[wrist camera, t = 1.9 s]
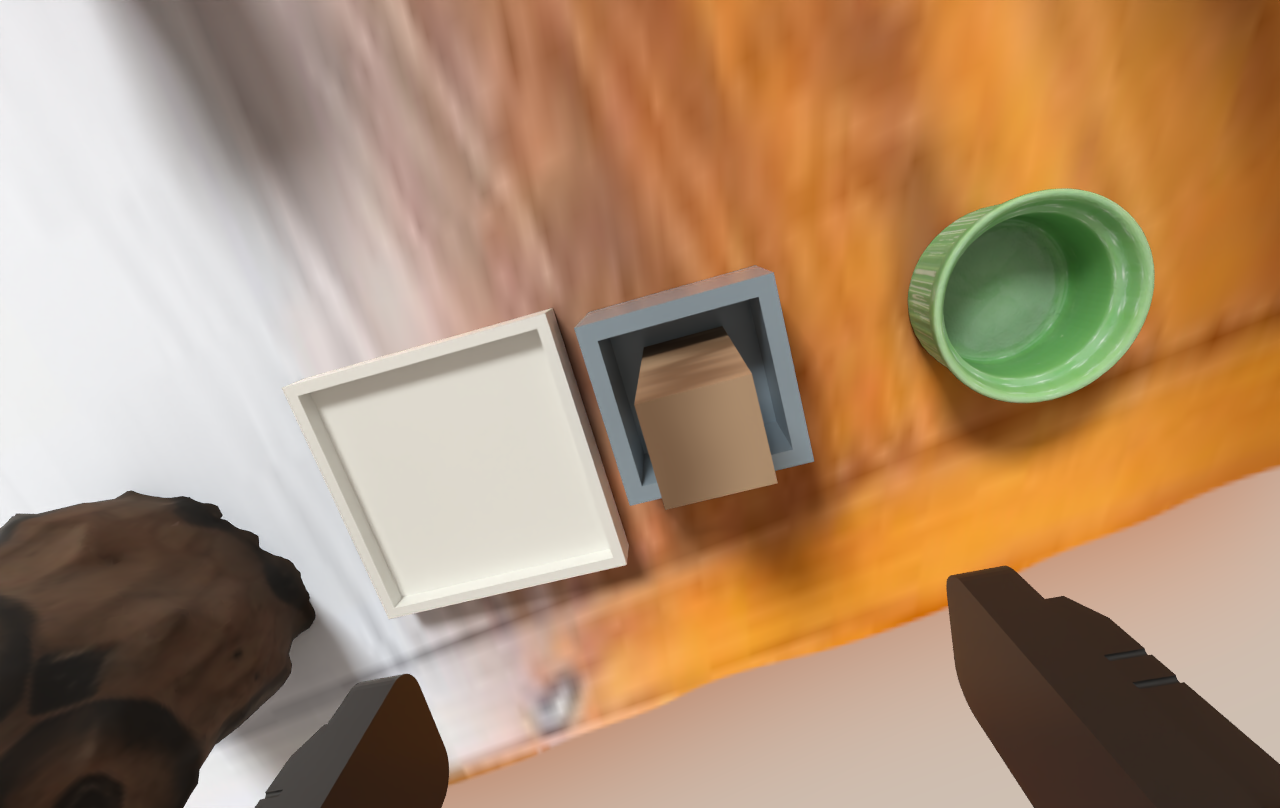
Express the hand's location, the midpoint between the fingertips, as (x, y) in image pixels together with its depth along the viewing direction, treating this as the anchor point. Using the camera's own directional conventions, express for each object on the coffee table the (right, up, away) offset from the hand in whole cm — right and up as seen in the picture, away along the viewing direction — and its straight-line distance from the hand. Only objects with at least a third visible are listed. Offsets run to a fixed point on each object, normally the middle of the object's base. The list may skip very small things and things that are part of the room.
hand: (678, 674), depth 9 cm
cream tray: (-10, +1, +24) cm, 26 cm away
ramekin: (+17, +10, +20) cm, 28 cm away
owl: (-27, -7, +27) cm, 39 cm away
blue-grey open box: (+2, +6, +22) cm, 23 cm away
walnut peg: (+2, +5, +21) cm, 22 cm away
